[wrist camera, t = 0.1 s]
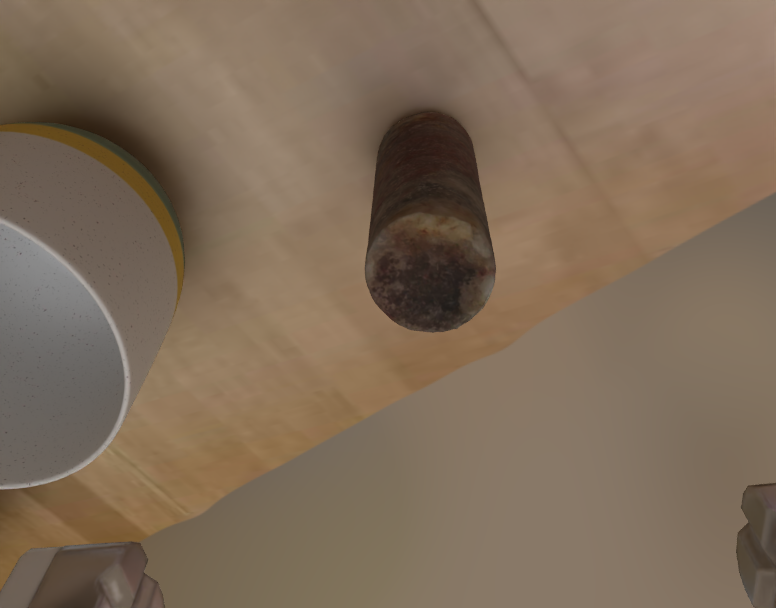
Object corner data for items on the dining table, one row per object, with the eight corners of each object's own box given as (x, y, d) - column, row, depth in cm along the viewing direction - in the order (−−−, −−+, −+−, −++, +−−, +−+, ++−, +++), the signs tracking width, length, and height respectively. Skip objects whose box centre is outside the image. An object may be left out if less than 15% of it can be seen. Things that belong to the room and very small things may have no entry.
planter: (-61, 248, 61) (-262, 406, 43) (8, 37, 53) (-204, 118, 34) (158, 351, 66) (64, 533, 47) (253, 172, 58) (184, 307, 39)
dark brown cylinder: (393, 214, 59) (390, 350, 42) (360, 129, 56) (342, 238, 38) (485, 183, 58) (522, 310, 40) (456, 94, 54) (483, 191, 37)
